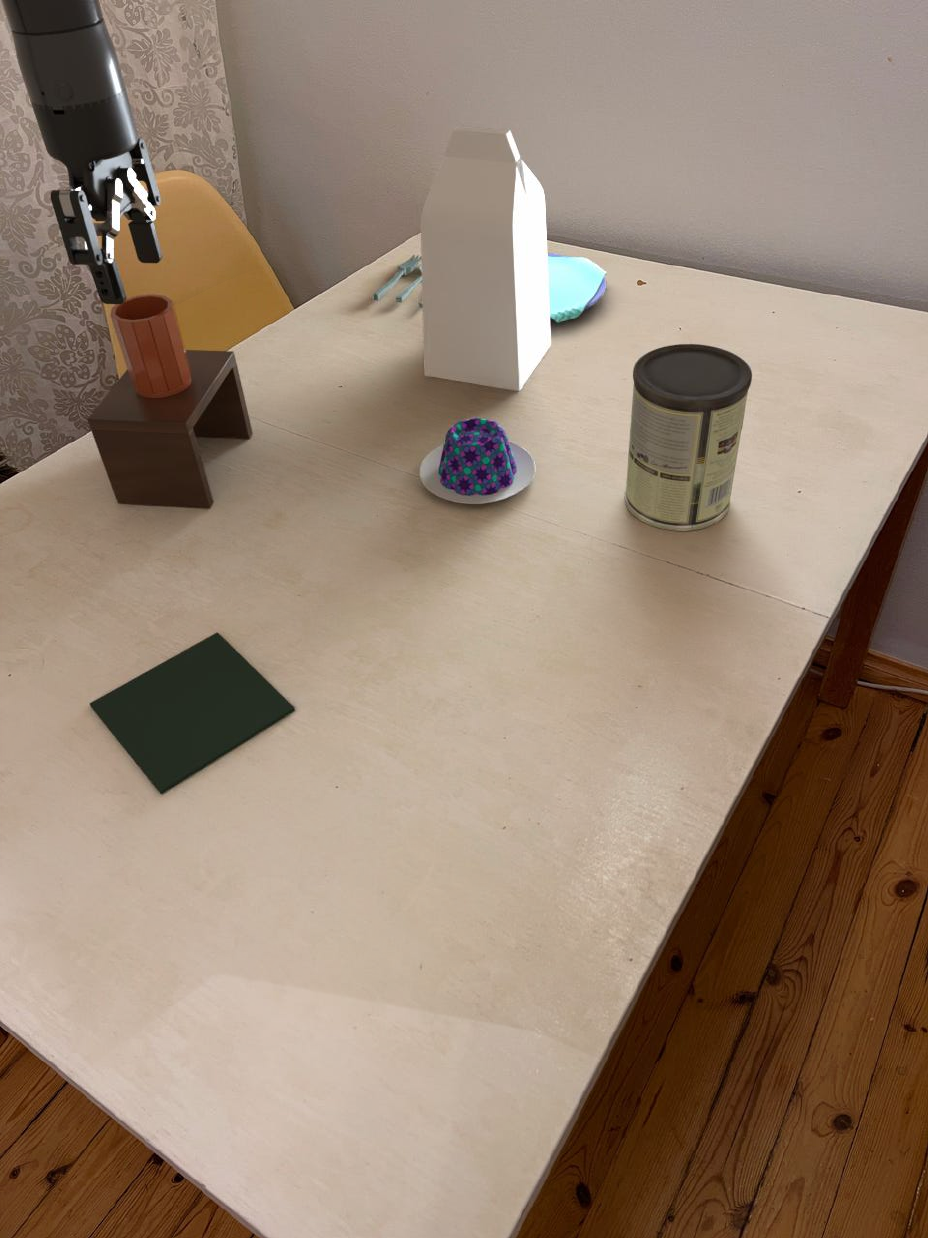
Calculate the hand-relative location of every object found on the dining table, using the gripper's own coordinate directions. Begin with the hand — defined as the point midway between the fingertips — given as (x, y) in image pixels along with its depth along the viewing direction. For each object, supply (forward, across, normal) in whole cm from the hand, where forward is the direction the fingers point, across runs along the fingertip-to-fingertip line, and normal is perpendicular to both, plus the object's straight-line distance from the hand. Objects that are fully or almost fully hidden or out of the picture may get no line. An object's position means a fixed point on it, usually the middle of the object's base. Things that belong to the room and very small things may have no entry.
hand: (133, 281), depth 89 cm
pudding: (+21, -1, +31) cm, 37 cm away
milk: (+21, -25, +29) cm, 44 cm away
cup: (+11, 0, 0) cm, 11 cm away
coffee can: (+21, +1, +51) cm, 55 cm away
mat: (+20, +33, +13) cm, 41 cm away
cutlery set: (+21, -44, +27) cm, 56 cm away
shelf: (+21, 0, 0) cm, 21 cm away
